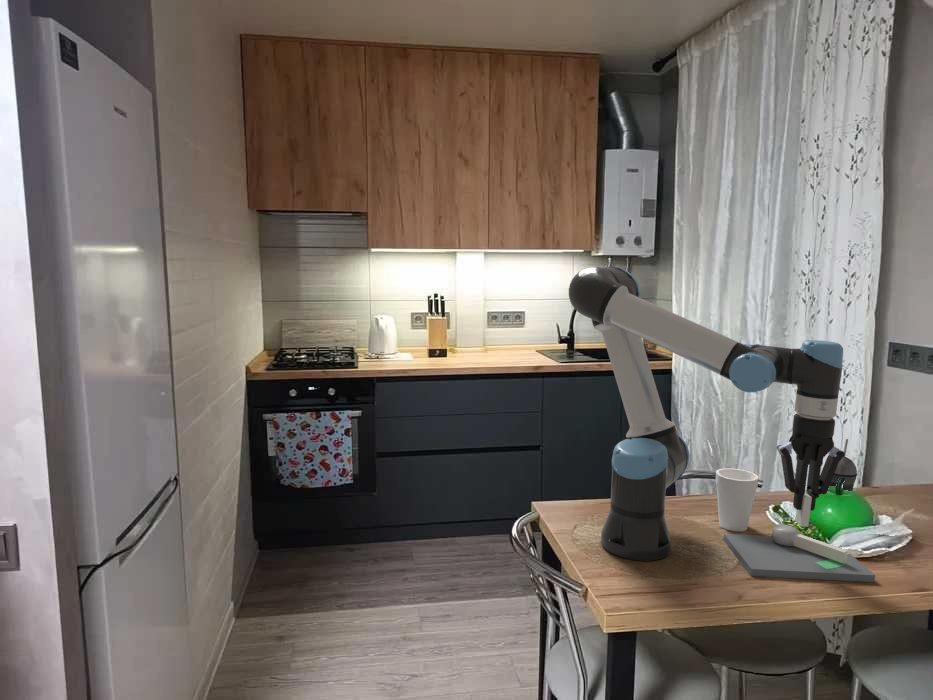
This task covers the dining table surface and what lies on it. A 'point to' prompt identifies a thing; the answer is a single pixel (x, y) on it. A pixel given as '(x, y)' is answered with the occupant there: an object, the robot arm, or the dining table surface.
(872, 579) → the board
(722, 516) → the foam cup
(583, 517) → the dining table surface
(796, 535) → the white knobbed bar
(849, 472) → the beverage cup
